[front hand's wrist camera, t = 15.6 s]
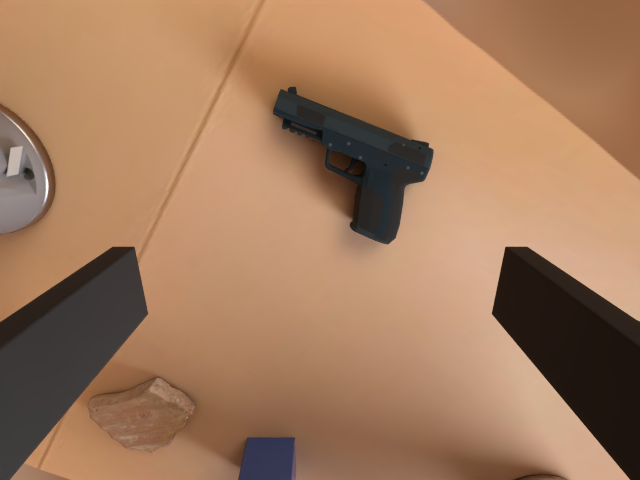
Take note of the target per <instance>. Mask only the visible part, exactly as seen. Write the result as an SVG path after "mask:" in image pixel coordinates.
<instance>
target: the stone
mask: <svg viewBox="0 0 640 480" xmlns="http://www.w3.org/2000/svg"><path fill="white" fill-rule="evenodd" d="M195 405H196V404H195V403H194V402H193V401H192V400H191V399H190V398H189V397H188V396H186V395H185V394H184V393H183V392H181V391H179V390H178V389H175V388H172V387H171V386H170V385H169V384H168V383H167V382H165V381H164V380H163V379H161V378H155V379H153V380H150V381H148V382H146V383H143V384H139V385H138V386H136V387H135V388H134V389H130V390H128V391H125V392H121V393H113V394H104V395H97V396H94V397H92V398H91V399H90V400H89V404H88V406H87V407H88V409H89V412H90V418H91V419H92V420H94V421H95V422H96V423H97V424H98V425H99V426H100V428H101V429H103V430H105V431H106V432H107V433H108V434H109V435H110V436H111V437H112V438H113V439H115V440H117V441H118V442H120V443H121V444H122V445H123V446H124V447H125V448H127V449H133V450H147V451H149V452H151V453H153V451H154V450H155V449H158V448H160V447H163V446H167V445H169V444H170V443H171V441H172V440H173V438H174V435H175V434H176V432H177V431H179V430H181V429H182V428H183V427H184V425H185V423H186V420H187V418H188V417H189V416H190V415H192V413H193V410H194V408H195Z"/></svg>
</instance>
